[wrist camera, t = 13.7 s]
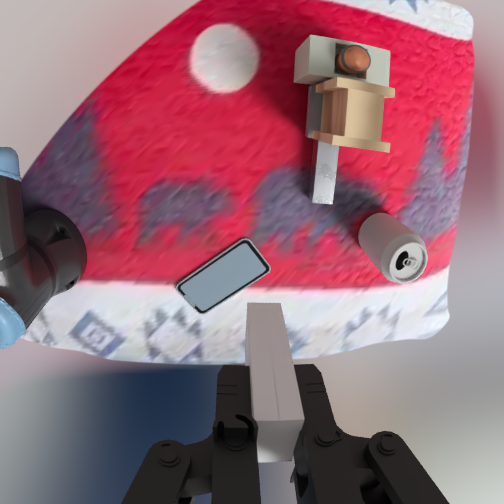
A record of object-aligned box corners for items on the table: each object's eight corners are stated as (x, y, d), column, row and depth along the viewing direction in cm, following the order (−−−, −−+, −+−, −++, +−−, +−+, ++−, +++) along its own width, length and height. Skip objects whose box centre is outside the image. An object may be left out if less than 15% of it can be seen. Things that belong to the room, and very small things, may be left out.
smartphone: (273, 270, 52) (201, 316, 55) (272, 267, 53) (201, 313, 56) (246, 235, 50) (173, 286, 52) (246, 233, 50) (174, 284, 53)
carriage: (301, 135, 43) (329, 144, 30) (305, 88, 40) (334, 76, 27) (348, 140, 43) (391, 153, 30) (352, 94, 41) (397, 89, 27)
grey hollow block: (293, 82, 41) (308, 74, 32) (295, 50, 39) (310, 34, 30) (359, 92, 41) (388, 88, 32) (361, 61, 39) (390, 50, 30)
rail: (308, 197, 48) (312, 202, 45) (317, 85, 41) (322, 83, 38) (327, 198, 48) (332, 204, 45) (337, 88, 41) (343, 86, 38)
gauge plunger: (331, 73, 33) (341, 69, 30) (333, 48, 32) (343, 41, 28) (357, 78, 34) (370, 75, 30) (359, 53, 32) (371, 47, 29)
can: (364, 205, 49) (398, 232, 38) (402, 217, 50) (439, 244, 39) (350, 248, 51) (377, 284, 40) (387, 257, 52) (419, 291, 41)
